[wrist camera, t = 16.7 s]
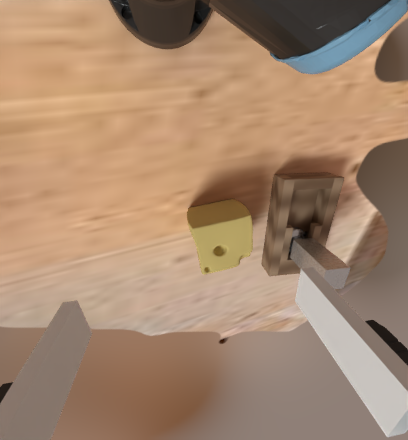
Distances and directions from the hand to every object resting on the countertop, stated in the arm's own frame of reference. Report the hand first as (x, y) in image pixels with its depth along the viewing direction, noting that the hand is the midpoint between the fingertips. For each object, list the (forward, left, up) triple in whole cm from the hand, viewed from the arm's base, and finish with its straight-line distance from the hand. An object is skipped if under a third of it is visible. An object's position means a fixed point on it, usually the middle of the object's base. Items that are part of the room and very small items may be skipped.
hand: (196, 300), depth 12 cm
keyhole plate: (+10, +25, -30) cm, 40 cm away
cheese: (+9, +7, -30) cm, 32 cm away
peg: (+14, +25, -29) cm, 41 cm away
